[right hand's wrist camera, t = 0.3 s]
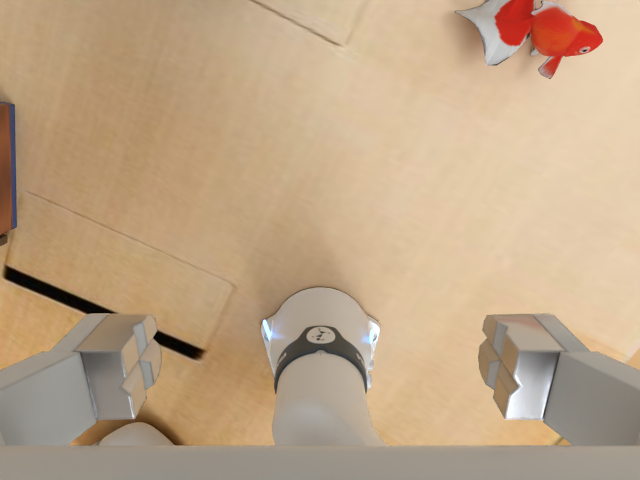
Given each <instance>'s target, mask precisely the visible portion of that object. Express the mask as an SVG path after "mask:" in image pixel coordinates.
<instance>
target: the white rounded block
mask: <svg viewBox="0 0 640 480" xmlns="http://www.w3.org/2000/svg"><path fill="white" fill-rule="evenodd" d="M93 445H165V446H175V445H174V444H173V443H172V442H171V441H170V440H169V439H167V438H166V437H165V436H164V435H163V434H162V433H161V432H159V431H158V430H157V429H155V428H154V427H153V426H151V425H149V424H146V423H143V422H135V423H131V424H128V425H125V426H123V427H121V428H119V429H117V430H115V431H114V432H112V433H110V434H109V435H107V436H106V437H104V438H103V439H102V440H99V441H98V442H96V443H94V444H93Z"/></svg>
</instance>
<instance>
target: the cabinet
mask: <svg viewBox="0 0 640 480" xmlns="http://www.w3.org/2000/svg"><path fill="white" fill-rule="evenodd" d="M16 227H17V220H16V165H15V110H14V105H13V104H9V103H5V102H1V101H0V235H1V234H3V233H5V232H7V231H9V230H11V229H14V228H16Z"/></svg>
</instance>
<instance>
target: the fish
mask: <svg viewBox="0 0 640 480" xmlns="http://www.w3.org/2000/svg"><path fill="white" fill-rule="evenodd" d="M541 3H542V6H541V7H540V8H539V9H536V5H535V0H487V1H486V2H485V3H484V4H482V5H481V6H479V7H476V8H472V9H468V10H464V11H455V13H457V14H460V15H462V16H464V17H465V18H467V19H468V20H470V21H471V22H473V23H474V24H475V26H476V27H477V29H478V31H479V32H480V35H481V38H482V41H483V45H484V52H485V59H486V65H498V64H500V63H501V62H503V61H504V60H506V59H507V58H509V57H510V56H511V55H512V54H513V53H515V52H516V51H517V50H518V48H519V47H520V46H521V45H522V44H523V43H524V42H525V40H526V39H527V38H528V37H531V38H532V43H533V45H534V47H535V48H534V50H533V51H532V52H531V54H530V55H532V56H533V55H536V54H539V53H541V54H543V55H546V56H551V57H550V58H549V59H548V60H547V61H546V62H545V63H544V64H543V65H542V66H541V67H540V68H539V69H538V70H539V72H540V74H541V75H543V76H545V77H547V78H549V79H551V78H552V76H553V75H554V73H555V71H556V69H557V67H558V65H559V63H560V61H561V59H562V57H563V56H565V57H567V56H575V55H582V54H586V53H588V52H591V51H592V50H594V49H596V48H597V47H598V46H599V45H600V44H601V43H602V42H603V38H602V36H601V35H600V33H599V31H598V30H597V28H596V26H594V25H592V24H590V23H587V22H585V21H579V20H578V19H576V18H575V17H574V16H572V15H570V14H569V13H568V12H567V11H566V10H565V9H564V8H563V7H562V6H561V5H560V4H557V3H554V2H548V1H541Z"/></svg>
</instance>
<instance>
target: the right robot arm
mask: <svg viewBox="0 0 640 480" xmlns="http://www.w3.org/2000/svg"><path fill="white" fill-rule="evenodd" d="M482 330H483V332H484V334H485V335H486V337H487V339H486V340H485V341H484V342H483V343H482V344H481V345H480V348H479V356H478V359H479V369H480V372H481V376H482V378H483V380H484V382H485V384H486V385H488V386H489V387H491V388H492V389H494V396H493V399H494V400H495V402H496V404H497V406H498V408H499V409H500V411H501V413H502V415H503V417H504V418H505V419H517V420H543V422H544V423H545V424H546V425H548V426H549V427H550V428H551V429H553V430H554V431H555V432H557V433H558V434H559V435H560V436H562V437H563V438H564V439H566V440H567V441H568V442H569V443H571V444H572V445H571V446H570V445H568V446H566V445H563V446H562V445H494V446H388V445H387V444H386V443H385V442H384V440H383V439H382V438H381V437H380V435H379V434H378V432H377V431H376V429H375V427H374V425H373V423H372V419H371V416H370V412H369V408H368V404H367V399H366V392H367V390H368V389H370V387H371V380H372V379H371V375H370V374H368V372H369V371H372V370H373V361H372V358H373V355H374V352H375V348H376V345H377V341H378V338H379V335H380V331H381V329H380V324H379V322H378V321H376V320H375V319H373V318H372V317H370V316H368V315H366V314H365V312H364V311H363V310H362V309H361V307H360V306H359V304H358V303H357V302H356V301H355V300H354V299H353V298H351V297H350V296H349V295H347V294H345V293H343V292H341V291H339V290H336V289H332V288H325V287H316V288H309V289H306V290H303V291H300V292H298V293H296V294H294V295H293V296H291V297H290V298H289V299H287V300H286V301H285V302H284V304H283V305H282V306H281V307H280V309H279V310H278V312H277V313H276V314H275V315H273V316H271V317H270V318H268V319H266V320H264V321H263V323H262V324H261V334H262V337H263V341H264V344H265V348H266V351H267V354H268V358H269V361H270V365H271V368H272V372H273V375H274V380H275V383H274V388H275V393H276V400H275V407H274V414H273V422H272V435H273V439H274V443H275V445H276V446H165V445H68V444H69V443H71V442H72V441H73V440H75V439H76V438H77V437H78V436H80V435H81V434H82V433H84V432H85V431H86V430H87V429H89V428H90V427H91V426H93V425H94V424H95V423H96V422H97V420H122V419H135V418H136V417H137V415H138V413H139V411H140V409H141V408H142V406H143V404H144V402H145V400H146V399H147V396H146V389H148V388H149V387H151V386H152V385H154V384H155V382H156V380H157V378H158V376H159V372H160V368H161V348H160V345H159V344H158V343H157V342H156V341H155V340H154V339H153V337H154V335H155V334H156V332H157V325H156V320H155V318H154V317H153V316H152V314H109V313H103V314H88V315H86V316H85V317H84V318H83V319H82V320H81V321H80V322H79V323H78V324H77V325H76V326H75V327H74V328H73V329H72V330H71V331H70V332H69V333H68V334H67V335H66V336H65V337H64V338H63V339H62V340H61V341H60V342H59V343H58V344H57V345H56V346H54V347H53V348H52V349H51V350H50V351H49V352H41V353H38V354H36V355H34V356H32V357H29V358H27V359H25V360H23V361H20V362H18V363H16V364H13V365H11V366H9V367H7V368H4V369H2V370H0V480H640V370H638V369H636V368H633V367H631V366H629V365H626V364H624V363H622V362H620V361H617V360H615V359H613V358H611V357H608V356H606V355H604V354H602V353H599V352H591V351H590V350H589V349H588V348H587V347H586V346H585V345H584V344H583V343H582V342H581V341H579V340H578V339H577V338H576V337H575V336H574V335H573V334H572V333H571V332H570V331H569V330H568V329H567V328H566V327H565V326H564V325H563V324H562V323H561V322H560V321H559V320H558V319H557V318H556V317H555V316H554V315H552V314H549V313H542V314H508V315H487V316H486V318H485V320H484V324H483V329H482Z"/></svg>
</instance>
